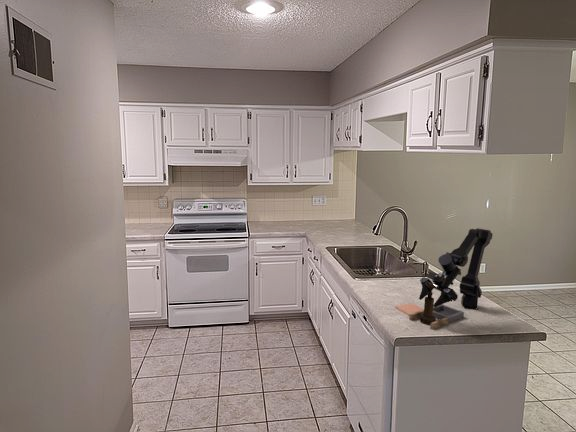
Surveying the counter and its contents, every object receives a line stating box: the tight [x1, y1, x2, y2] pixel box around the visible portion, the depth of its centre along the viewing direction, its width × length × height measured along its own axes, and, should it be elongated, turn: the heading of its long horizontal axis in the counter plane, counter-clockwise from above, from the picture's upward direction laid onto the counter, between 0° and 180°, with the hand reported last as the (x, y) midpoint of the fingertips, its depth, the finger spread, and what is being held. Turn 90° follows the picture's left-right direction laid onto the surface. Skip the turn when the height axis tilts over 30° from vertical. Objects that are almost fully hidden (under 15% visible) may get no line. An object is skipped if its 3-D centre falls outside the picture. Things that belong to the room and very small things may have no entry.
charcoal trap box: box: [433, 304, 465, 324], centre depth 194 cm, size 12×12×2 cm
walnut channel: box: [408, 310, 449, 330], centre depth 187 cm, size 11×12×2 cm
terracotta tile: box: [394, 302, 424, 316], centre depth 200 cm, size 11×11×1 cm
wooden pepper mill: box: [419, 282, 437, 325], centre depth 185 cm, size 7×6×18 cm
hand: (426, 302), depth 185 cm, fingers open, 9 cm apart
